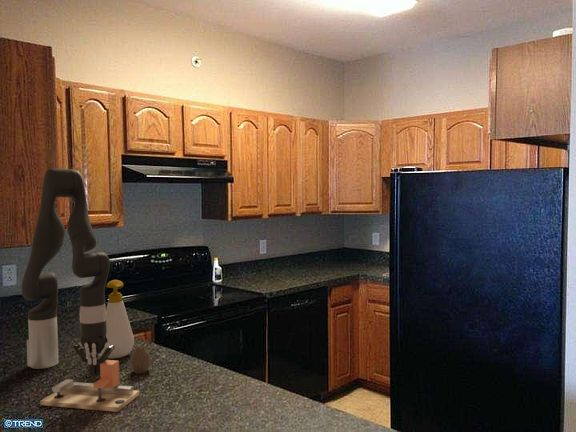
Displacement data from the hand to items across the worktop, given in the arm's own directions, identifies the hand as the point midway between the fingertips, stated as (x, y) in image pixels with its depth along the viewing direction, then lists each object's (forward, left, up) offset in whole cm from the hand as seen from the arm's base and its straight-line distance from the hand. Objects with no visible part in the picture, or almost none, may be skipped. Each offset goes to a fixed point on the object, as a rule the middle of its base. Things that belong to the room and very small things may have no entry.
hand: (95, 375), depth 148 cm
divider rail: (0, -3, -5) cm, 6 cm away
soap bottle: (-13, +33, -6) cm, 36 cm away
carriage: (+5, -2, -5) cm, 7 cm away
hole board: (0, -3, -6) cm, 7 cm away
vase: (+3, +21, -6) cm, 22 cm away
